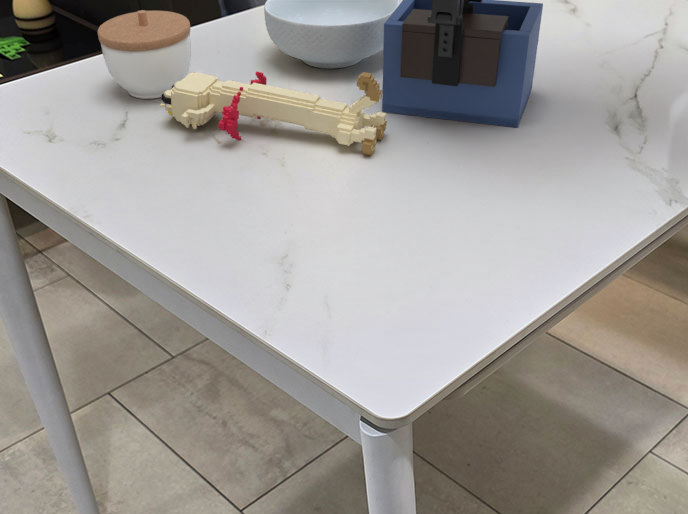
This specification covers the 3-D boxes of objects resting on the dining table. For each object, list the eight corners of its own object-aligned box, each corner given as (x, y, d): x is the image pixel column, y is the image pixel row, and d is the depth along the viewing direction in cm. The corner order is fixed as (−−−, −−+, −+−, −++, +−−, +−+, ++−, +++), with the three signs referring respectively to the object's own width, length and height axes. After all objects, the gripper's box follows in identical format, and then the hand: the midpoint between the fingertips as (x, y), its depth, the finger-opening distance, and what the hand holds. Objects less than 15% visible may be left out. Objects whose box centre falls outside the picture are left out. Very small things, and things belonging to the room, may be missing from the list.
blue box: (531, 90, 98) (543, 3, 92) (517, 127, 91) (529, 35, 85) (404, 77, 103) (407, -7, 97) (381, 111, 95) (383, 23, 89)
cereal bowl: (425, 52, 109) (428, -4, 104) (339, 95, 100) (338, 35, 95) (327, 24, 118) (326, -28, 114) (240, 61, 109) (235, 5, 105)
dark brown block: (502, 70, 91) (508, 16, 87) (494, 87, 87) (500, 31, 84) (410, 61, 94) (413, 8, 90) (400, 77, 90) (402, 23, 87)
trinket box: (91, 91, 104) (76, 14, 98) (160, 64, 110) (149, -10, 104) (145, 115, 98) (132, 35, 92) (215, 85, 103) (207, 8, 98)
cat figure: (389, 135, 93) (185, 92, 100) (398, 59, 88) (181, 19, 95) (362, 178, 86) (143, 129, 93) (370, 98, 81) (137, 52, 87)
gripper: (450, -191, 84) (435, 40, 98) (404, -157, 71) (394, 103, 85) (527, -190, 82) (500, 47, 96) (495, -155, 69) (469, 112, 83)
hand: (450, 73), depth 91 cm, fingers closed on dark brown block, 5 cm apart
